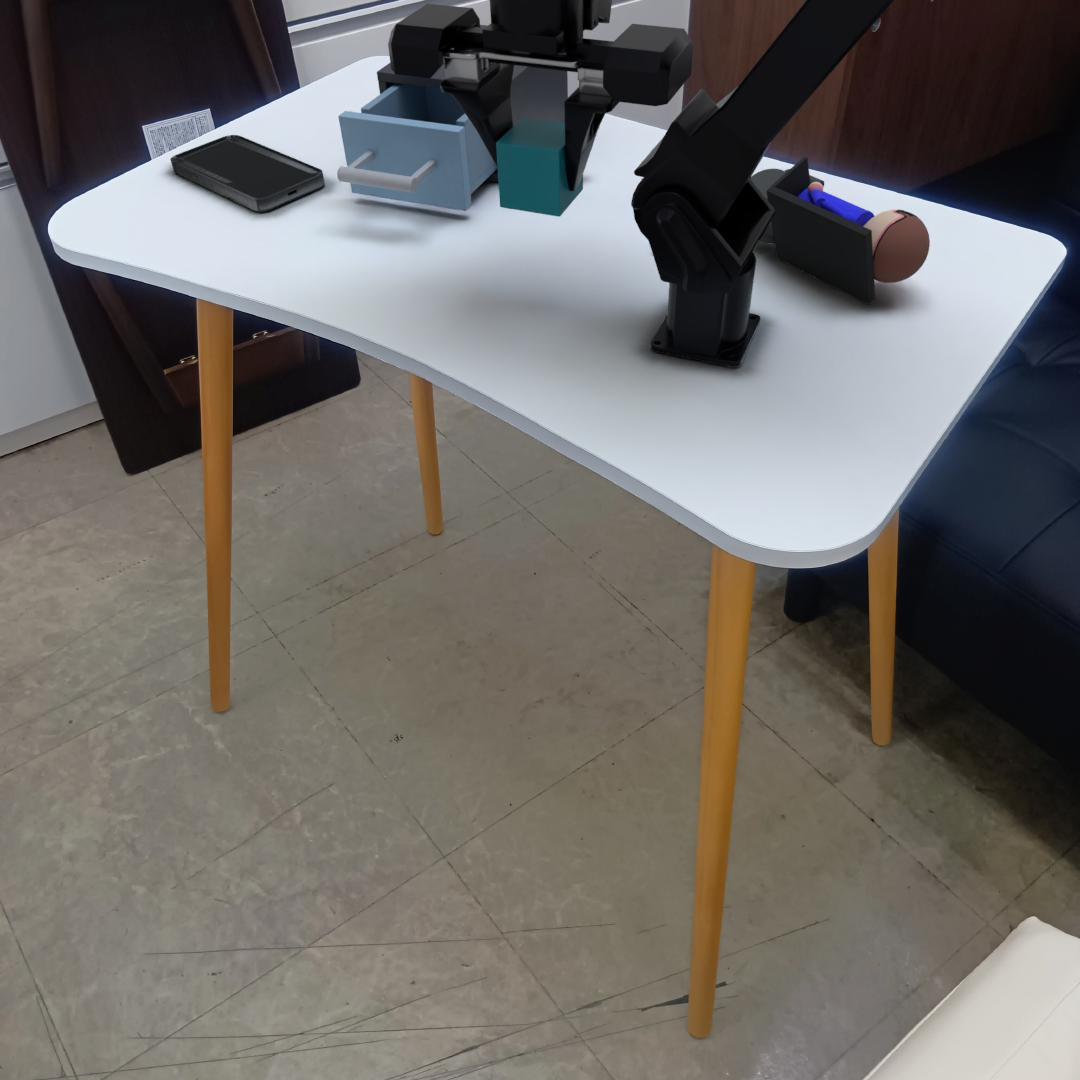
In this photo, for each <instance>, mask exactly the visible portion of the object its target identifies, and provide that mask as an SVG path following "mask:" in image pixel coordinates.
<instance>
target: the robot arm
mask: <svg viewBox="0 0 1080 1080" xmlns="http://www.w3.org/2000/svg"><path fill="white" fill-rule="evenodd" d="M894 1H895V0H805V1H804V2H803V4H802V5H801V6H800V7H799V8H798V10H797V11H796V13H795V14H794V15H793V16H792V18H791V19H790V20H789V21H788V23H787V24H786V25H785V27H784V28H783V29H782V30H781V31H780V33H779V34H778V35H777V37H776V38H775V39H774V41H773V42H772V43H771V44H770V45H769V46H768V48H767V49H766V51H765V52H764V53H763V54H762V55H761V57H760V58H759V59H758V60H757V62H756V63H755V65H753V67H752V68H751V70H750V71H749V72H748V73H747V75H746V76H745V77H744V78H743V80H742V81H741V82H740V83H739V85H737V86H736V87H735V88H734V89H733V90H731V92H729V93H728V94H727V95H726V96H725V97H723V98H722V99H721V100H719V101H718V102H717V103H715V101H714V100H713V99H712V97H711V96H710V95H709V94H708V93H707V91H706V90H705V89H704V88H701V89H699V91H697V93H696V95H695V96H693V98H692V99H691V100H690V101H689V102H688V104H686V106H685V107H684V108H683V109H682V110H681V111H680V113H679V114H678V115H677V116H676V117H675V119H673V121H672V122H671V123H670V125H669V127H668V128H667V130H666V131H665V134H664V135H663V137H662V138H661V139H660V140H659V142H658V143H657V144H655V146H654V147H653V149H652V150H651V151H650V152H649V153H648V154H647V156H646V157H645V158H644V159H643V160H642V161H641V163H640V164H638V166H637V167H636V169H634V171H633V174H634V175H635V176H636V177H640V178H642V179H641V180H640V181H639V182H638V184H637V186H636V188H635V190H634V191H633V193H632V196H631V202H630V205H631V208H632V211H633V216H634V221H635V223H636V226H637V227H638V230H639V231H640V233H641V235H643V236H644V237H645V238H646V240H647V241H648V243H649V247H650V250H651V253H652V256H653V259H654V260H653V261H654V263H655V266H656V270H657V272H658V276H659V279H660V281H662V282H663V283H668V284H669V285H668V295H667V296H668V298H667V312H666V313H667V314H666V316H665V317H664V319H663V321H662V323H661V324H660V326H659V328H658V329H657V331H656V332H655V335H654V336H653V337H652V339H651V341H650V350H651V351H652V352H655V353H661V354H664V355H670V356H675V357H680V358H685V359H690V360H696V361H701V362H706V363H711V364H716V365H721V366H726V367H732V368H737V367H740V366H741V365H742V363H743V361H744V358H745V357H746V354H747V352H748V351H749V347H750V346H751V344H752V342H753V339H754V337H755V335H756V333H757V330H758V328H759V326H760V324H761V316H760V315H759V314H756V313H752V312H750V311H751V304H752V297H753V296H752V295H753V289H754V282H755V281H754V280H755V273H756V265H757V257H756V254H755V252H754V250H755V248H756V247H757V245H758V243H759V242H760V241H759V240H760V238H762V236H763V234H764V233H765V231H766V229H767V227H768V225H769V223H770V222H771V220H772V218H773V216H774V214H775V210H774V208H773V207H772V206H771V204H770V203H769V202H768V201H767V199H766V198H765V197H764V196H763V194H762V193H761V192H760V190H759V189H758V188H757V187H756V185H755V184H754V183H753V182H752V180H751V179H750V178H751V176H753V175H754V174H755V171H756V169H757V168H758V166H759V164H760V163H761V161H762V159H763V158H764V156H765V154H766V152H767V151H768V149H769V148H770V146H771V144H772V142H773V140H774V139H775V137H777V135H778V134H779V133H780V132H781V131H782V130H783V129H784V128H785V126H786V125H788V123H789V122H790V121H791V119H793V117H794V116H795V115H796V114H797V113H798V111H800V109H801V108H802V107H803V106H804V104H805V103H806V102H807V101H808V100H809V99H810V98H811V96H812V95H813V94H814V93H815V92H816V91H817V90H818V88H820V86H821V85H822V84H823V83H824V81H825V80H826V79H827V78H828V77H829V76H830V75H831V74H832V72H833V71H834V70H835V69H836V68H837V66H839V64H840V63H841V62H842V61H843V60H844V58H846V56H847V55H848V54H849V53H850V52H851V50H852V49H853V48H854V47H855V46H856V44H857V43H859V41H860V40H861V39H862V38H863V37H864V36H865V34H866V33H867V32H868V31H869V30H870V29H871V27H873V25H874V24H875V23H876V22H877V20H878V19H879V18H880V17H881V16H882V15H883V14H884V13H885V12H886V11H887V9H888V8H889V7H890V6H891V4H893V2H894ZM612 5H613V0H489V12H490V23H489V24H488V25H487V27H485V28H480V25H481V20H480V19H481V18H480V17H479V15H478V14H477V12H476V11H475V9H474V7H465V6H456V5H447V4H446V5H445V4H434V3H426V4H424V5H423V6H422V7H421V6H420V8H418V9H416V10H415V11H414V12H412V13H410V14H409V15H407V16H406V17H404V18H403V19H401V20H399V21H398V22H397V23H395V25H394V26H393V28H392V29H391V31H390V34H389V39H388V43H387V47H388V55H389V61H390V62H389V63H391V71H392V72H393V73H394V74H396V75H404V76H413V77H421V78H429V79H430V78H432V77H433V76H434V75H435V74H436V73H437V72H438V70H439V69H440V68H441V67H442V66H443V64H444V68H445V79H444V80H443V81H442V82H441V83H440V88H441V91H442V92H443V93H446V94H451V95H452V96H453V97H454V98H455V99H456V101H457V102H458V104H459V105H460V107H461V108H462V110H463V111H464V113H465V114H466V116H467V117H468V119H469V120H470V121H471V123H472V124H473V126H474V127H475V129H476V130H477V132H478V134H479V136H480V137H481V139H482V141H483V143H484V144H485V146H486V148H487V150H488V152H489V154H490V155H491V157H492V159H493V161H494V163H495V165H496V166H497V150H496V142H497V141H498V140H499V139H501V138H502V137H503V136H504V135H505V134H506V133H507V132H508V131H509V130H510V129H511V128H512V127H513V119H512V108H511V98H510V89H511V83H512V76H513V70H514V65H518V66H526V67H535V68H544V69H553V70H561V71H567V72H571V73H572V72H573V73H577V81H578V87H577V88H576V89H575V90H574V91H573V92H572V93H571V94H570V95H568V98H567V99H566V100H565V101H564V113H565V163H566V176H567V182H568V187H569V191H573V192H574V191H575V190H576V189H577V188H578V186H579V184H580V181H581V178H582V175H583V176H584V172H585V169H586V167H587V163H588V160H589V158H590V154H591V151H592V149H593V145H594V143H595V140H596V137H597V134H598V131H599V129H600V126H601V124H602V122H603V119H604V117H605V116H606V114H608V113H611V112H613V110H614V109H615V108H616V107H617V106H618V105H619V103H623V104H624V103H625V104H633V105H641V106H648V107H649V106H650V107H659V106H664V105H665V106H666V105H668V104H669V103H670V102H671V100H672V99H673V98H674V97H675V95H676V94H677V93H678V92H679V91H680V89H682V86H684V84H685V83H686V82H687V80H688V79H689V78H690V77H691V76H692V67H693V56H694V55H693V53H694V46H693V43H692V40H691V38H690V36H689V34H688V33H687V31H686V29H685V28H680V27H673V26H672V27H671V26H660V25H650V24H641V23H631V24H630V25H629V26H628V27H627V28H626V29H625V30H624V31H623V32H622V33H621V34H620V35H619V36H617V38H616V39H615V40H613V41H611V40H604V39H593V38H584V31H594V30H595V29H596V28H597V27H598V26H599V24H610V21H611V13H612ZM559 53H560V54H559ZM564 53H566V55H564ZM443 57H444V61H443ZM497 168H498V166H497Z"/></svg>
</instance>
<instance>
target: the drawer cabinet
mask: <svg viewBox="0 0 1080 1080" xmlns="http://www.w3.org/2000/svg"><path fill="white" fill-rule="evenodd" d="M487 26H488V25H486V24H480V28H485V27H487ZM559 54H560V53H559ZM564 55H566V53H564ZM443 61H444V57H443ZM376 76H377V81H378V83H377V84H378V90H379V95H380V94H381V93H383V92H384V91H386V90H387V89H388V88H390V87H391V86H392V85H394V84H395V83H400V84H408V85H416V86H425V87H433V88H440V83H441V82H442V81H443V80H444V79H445V68H444V64H443V66H442V67H441V68H440V69H439V70H438V72H437V73H436V74H435V75H434V76H433V77H432V78H430V79H429V78H421V77H413V76H404V75H396V74H394V73H393V72H392V71H391V63H390V62H389V63H387V64H386V65H384V66H383V67H381V68H380V69H379V70H377V71H376ZM568 77H569V76H568V71H561V70H553V69H544V68H535V67H526V66H518V65H514V70H513V76H512V83H511V89H510V98H511V108H512V119H513V126H514V125H515V124H516V123H517V122H518V121H520V120H521V119H522V118H530V119H537V120H545V121H552V122H560V123H565V113H564V101H565V100H566V99H567V98H568V97H569V91H568V89H569V86H568V85H569V84H568V83H569V79H568ZM485 181H489V182H494V183H499V182H498V168H497V169H496V170H495V171H494V172H493V173H492V174H491V175H490V176H489V177H488V178H487V179H486V180H485Z"/></svg>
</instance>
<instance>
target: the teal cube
mask: <svg viewBox="0 0 1080 1080" xmlns="http://www.w3.org/2000/svg"><path fill="white" fill-rule="evenodd" d="M496 150H497V166H498V182H497V183H498V197H499V207H500V208H503V209H510V210H515V211H516V210H517V211H523V212H529V213H533V214H541V215H546V216H552V217H559V218H561V216H562V215H563V214H564V213H565V211H566V210H567V209H568V208H569V207H570V205H571V204H572V203H573V202H574V201H575V199H576V198H577V197H578V196H579V195H580V194H581V193H582V192H583V190H584V174H583V175H582V178H581V181H580V184H579V186H578V188H577V189H576V190H575V191H574V192H573V191H569V187H568V182H567V176H566V163H565V123H560V122H552V121H545V120H537V119H530V118H522V119H521V120H520V121H518V122H517V123H516V124H515V125H514V126H513V127H512V128H511V129H510V130H509V131H508V132H507V133H506V134H505V135H504V136H503V137H502V138H501V139H499V140H498V141H497V142H496Z"/></svg>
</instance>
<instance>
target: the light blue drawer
mask: <svg viewBox="0 0 1080 1080" xmlns="http://www.w3.org/2000/svg"><path fill="white" fill-rule="evenodd" d="M338 122H339V128H340V133H341V139H342V146H343V150H344V155H345V161H346V166H344V165H343V166H342V165H341V166H339V167H338V169H337V171H336V176H337V179H338V181H339V182H341V183H349V185H350V189H351V190H350V191H351V193H352V194H357V195H363V196H370V197H376V198H381V199H389V200H394V201H401V202H407V203H411V204H412V203H413V204H419V205H424V206H425V205H426V206H432V207H437V208H438V207H439V208H443V209H451V210H457V211H461V212H467V211H468V210H469V209H470V208H471V207H472V204H473V203H472V194H473V193H474V192H475V191H476V190H477V189H478V188H479V187H481V185H482V184H483V183H484V182H485V181H487V180H486V179H487V178H488V177H489V176H490V175H491V174H492V173H493V172H494V171H495V170H496V169H497V166H496V165H495V163H494V161H493V159H492V157H491V155H490V154H489V152H488V150H487V148H486V146H485V144H484V143H483V141H482V139H481V137H480V136H479V134H478V132H477V130H476V129H475V127H474V126H473V124H472V123H471V121H470V120H469V119H468V117H467V116H466V114H465V113H464V111H463V110H462V108H461V107H460V105H459V104H458V102H457V101H456V99H455V98H454V97H453V96H452V95H451V94H446V93H443V92H442V91H441V88H433V87H425V86H416V85H408V84H400V83H395V84H394V85H392V86H391V87H390V88H388V89H387V90H386V91H384V92H383V93H381V94H380V93H379V94H378V95H377V96H375V98H373V99H372V100H371V101H369V102H368V103H366V104H365V105H364V106H362V107H361V108H360V112H358V111H357V112H356V111H348V110H344V111H343V112H342V113H340V114H339V115H338Z"/></svg>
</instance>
